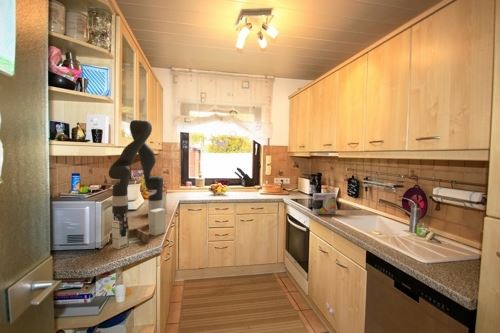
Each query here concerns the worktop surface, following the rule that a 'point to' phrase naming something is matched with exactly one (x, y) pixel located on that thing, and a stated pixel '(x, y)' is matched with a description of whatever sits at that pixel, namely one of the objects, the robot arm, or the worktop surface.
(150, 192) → the cracker box
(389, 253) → the worktop surface
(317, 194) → the cake pan box
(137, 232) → the arena
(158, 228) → the skincare box
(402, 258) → the worktop surface
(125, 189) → the robot arm
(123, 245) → the syrup box
